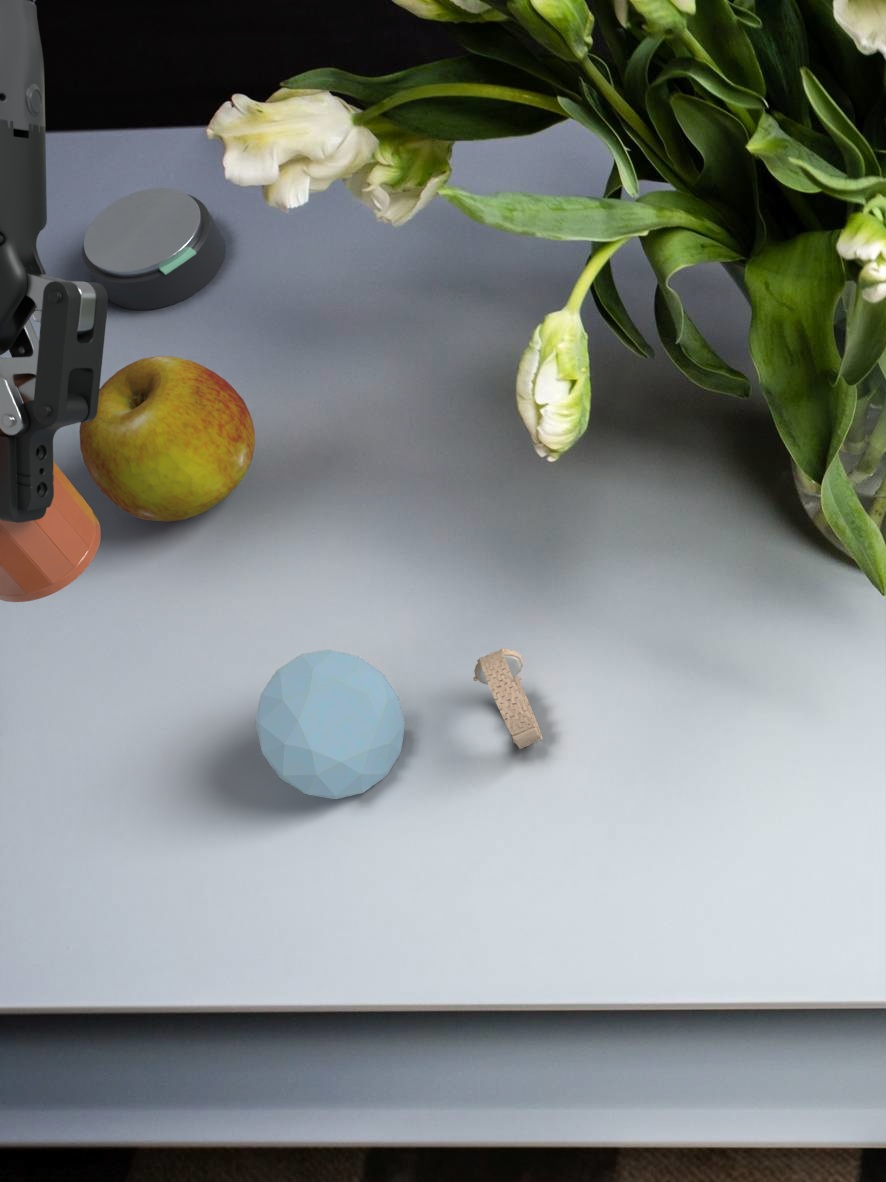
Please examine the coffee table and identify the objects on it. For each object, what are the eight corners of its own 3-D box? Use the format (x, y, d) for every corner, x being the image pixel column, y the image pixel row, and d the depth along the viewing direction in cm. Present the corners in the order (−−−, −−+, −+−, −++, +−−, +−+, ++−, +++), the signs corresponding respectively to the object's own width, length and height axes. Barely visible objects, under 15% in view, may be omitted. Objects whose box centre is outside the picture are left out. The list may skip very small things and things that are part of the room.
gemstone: (199, 734, 82) (228, 720, 78) (303, 633, 86) (335, 615, 82) (309, 837, 85) (342, 828, 81) (406, 734, 89) (442, 721, 85)
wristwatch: (534, 681, 86) (507, 628, 82) (562, 751, 83) (536, 700, 79) (486, 701, 86) (457, 649, 81) (513, 772, 83) (485, 722, 79)
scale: (143, 329, 104) (121, 295, 101) (76, 271, 107) (53, 237, 105) (250, 255, 106) (231, 220, 104) (181, 201, 110) (161, 166, 107)
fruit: (161, 416, 99) (97, 322, 92) (298, 425, 98) (242, 330, 91) (98, 542, 94) (25, 453, 88) (240, 554, 93) (177, 464, 86)
